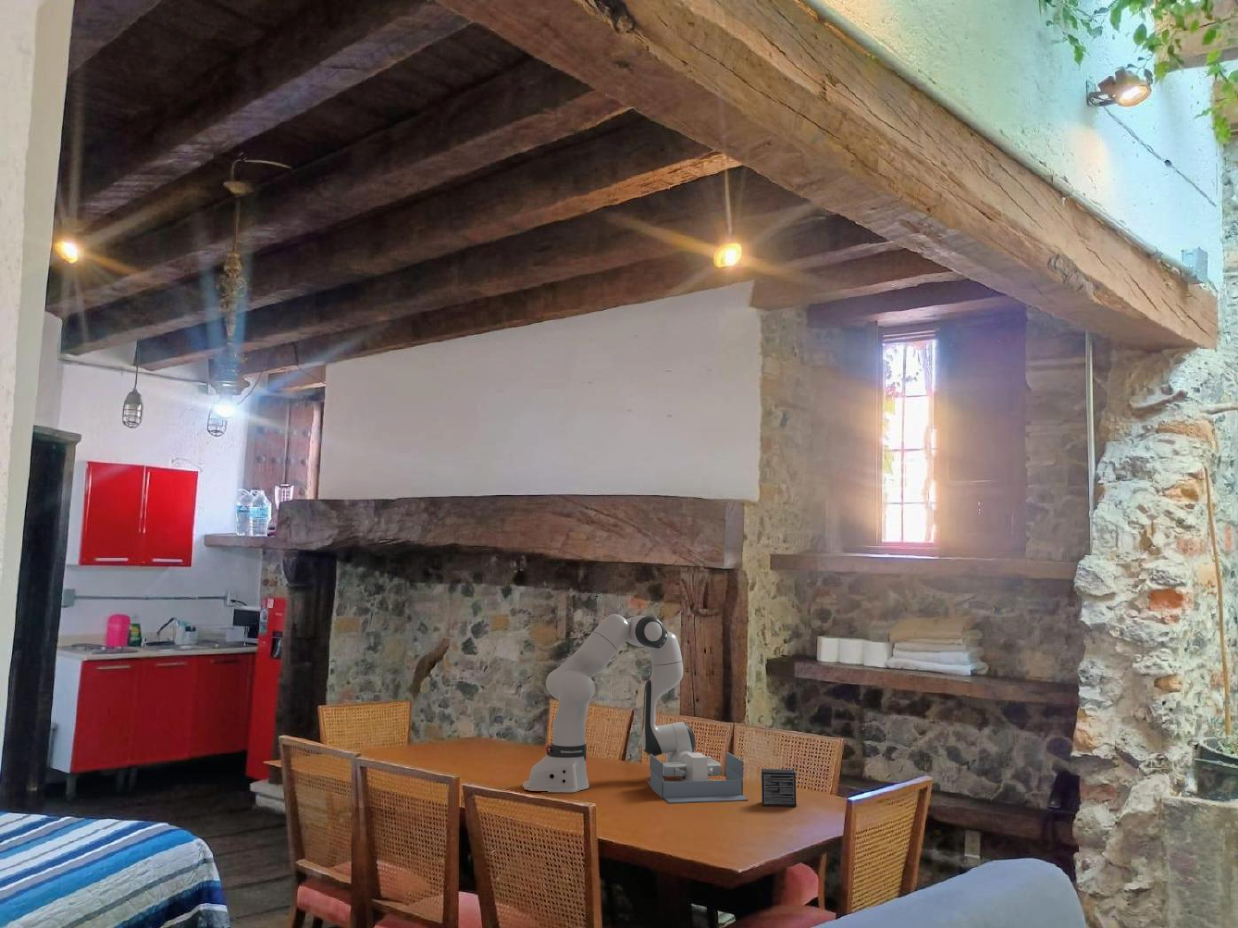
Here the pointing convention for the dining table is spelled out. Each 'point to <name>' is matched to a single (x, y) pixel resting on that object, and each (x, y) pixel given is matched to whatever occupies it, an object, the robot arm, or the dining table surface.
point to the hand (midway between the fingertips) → (697, 773)
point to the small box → (778, 787)
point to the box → (696, 767)
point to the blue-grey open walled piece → (699, 784)
